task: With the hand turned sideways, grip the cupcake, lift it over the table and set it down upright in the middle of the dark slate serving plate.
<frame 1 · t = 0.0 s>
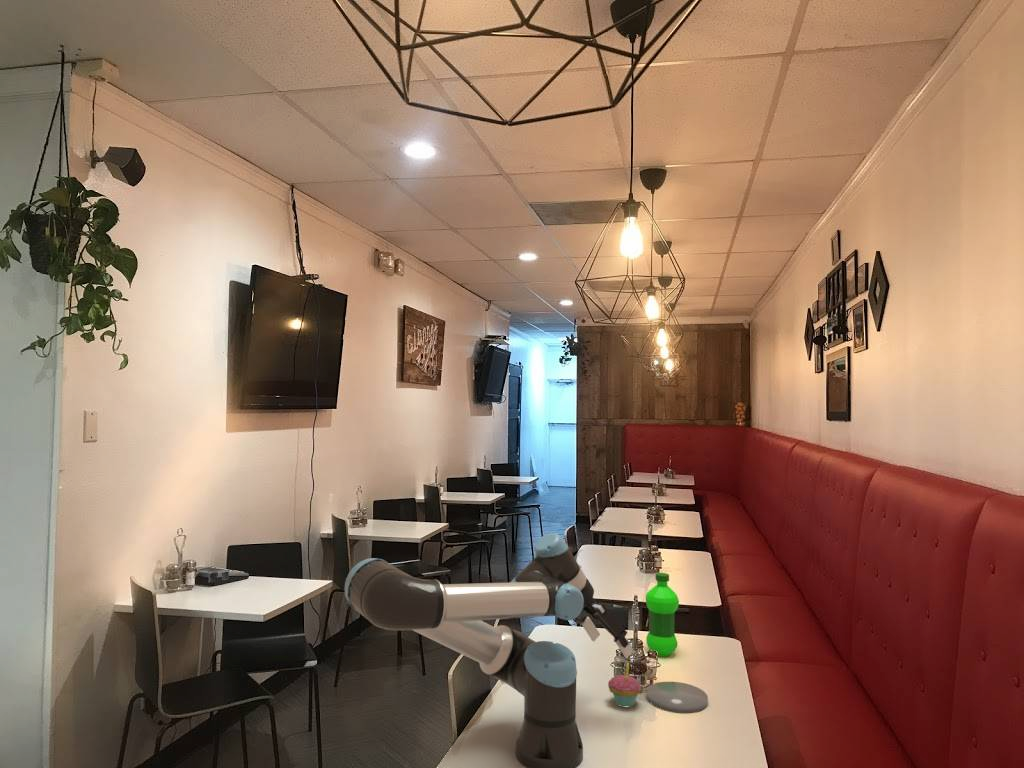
hand: (612, 645, 180), 15 cm above the table, tool tilted 35°, fingers open, 13 cm apart
plastic bottle: (661, 654, 217), on the table
cupcake: (624, 704, 180), on the table
slate plate: (676, 699, 183), on the table
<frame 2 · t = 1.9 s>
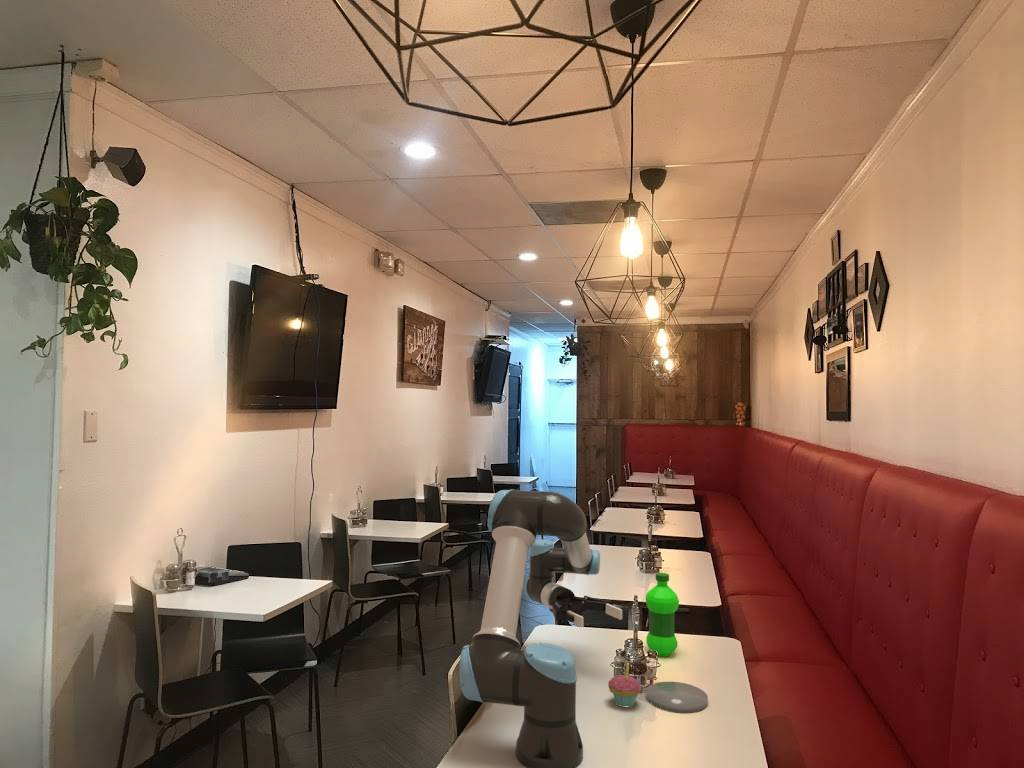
hand: (602, 618, 189), 20 cm above the table, tool horizontal, fingers open, 13 cm apart
nothing on the table moved.
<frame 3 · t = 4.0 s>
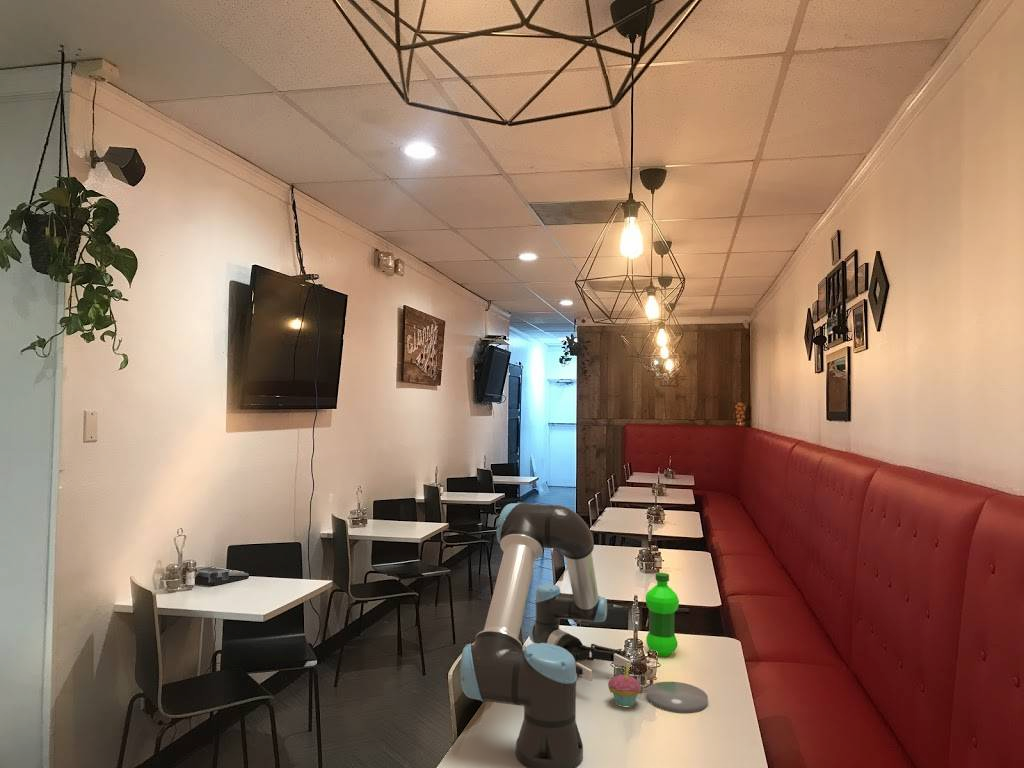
hand: (611, 670, 186), 6 cm above the table, tool horizontal, fingers open, 13 cm apart
nothing on the table moved.
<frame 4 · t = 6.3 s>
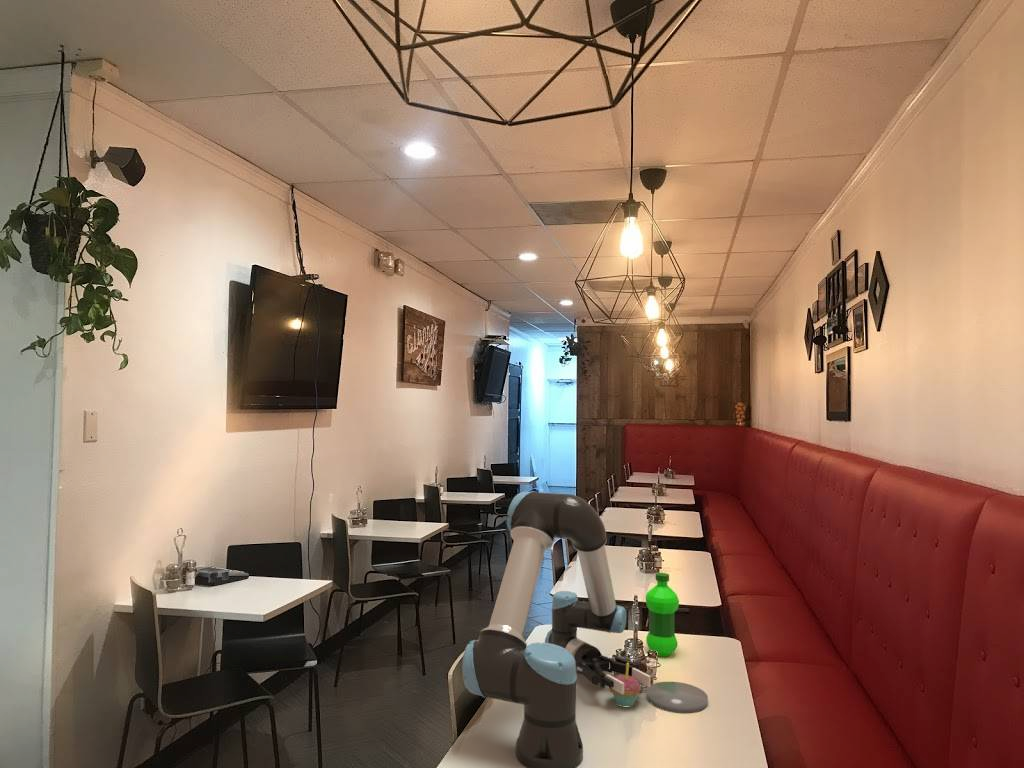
hand: (636, 685, 176), 6 cm above the table, tool horizontal, fingers closed on cupcake, 8 cm apart
cupcake: (624, 704, 180), on the table, touching gripper
everything else where it was.
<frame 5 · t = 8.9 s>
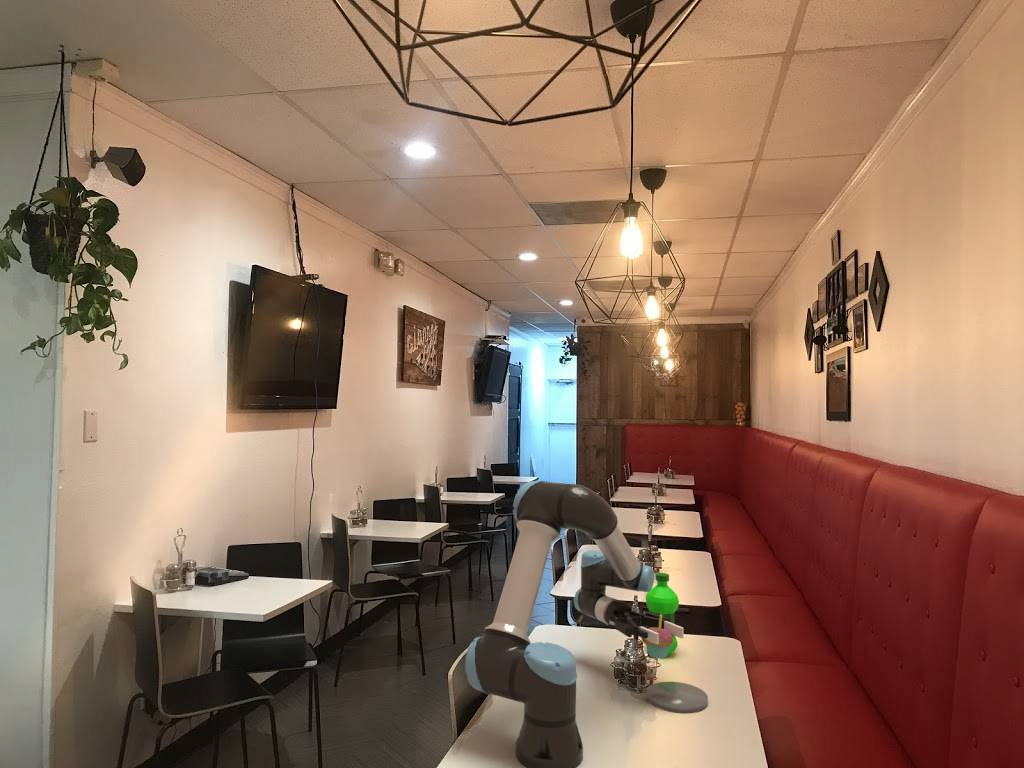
hand: (670, 636, 180), 18 cm above the table, tool horizontal, fingers closed on cupcake, 8 cm apart
cupcake: (657, 655, 183), point 12 cm above the table, touching gripper
everything else where it was.
when the fingers open (9 cm above the table, at t = 11.8 s): cupcake drops 1 cm, resting on slate plate.
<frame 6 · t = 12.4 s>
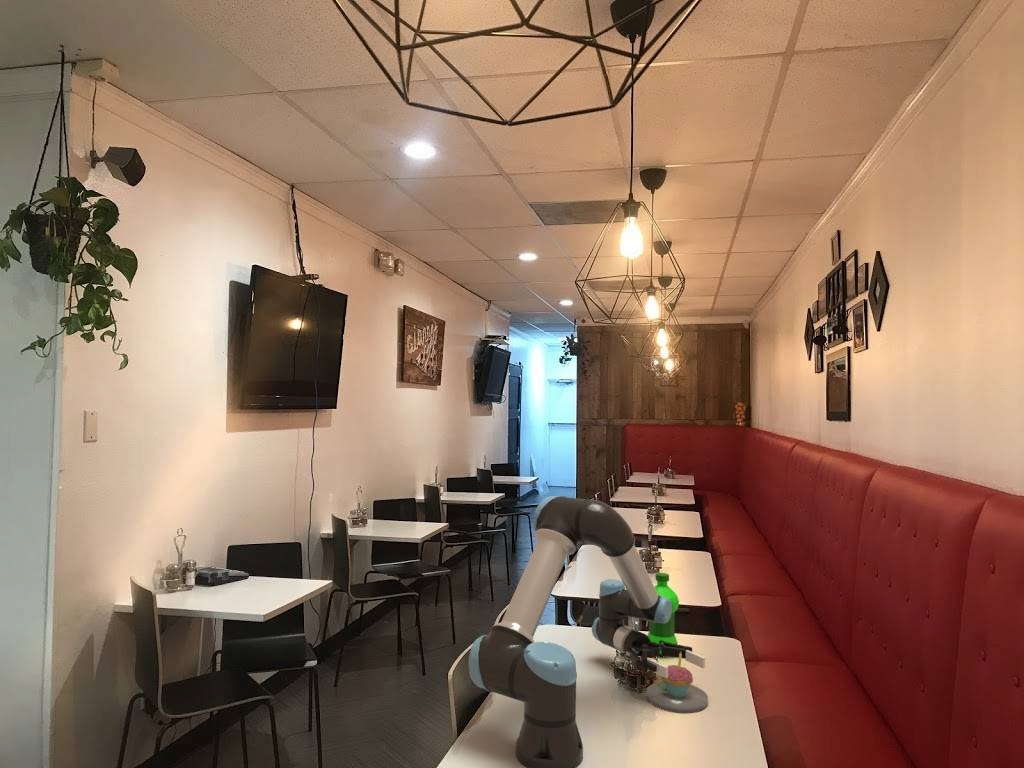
hand: (685, 667, 181), 10 cm above the table, tool horizontal, fingers open, 13 cm apart
cupcake: (676, 694, 183), point 1 cm above the table, touching slate plate
everything else where it was.
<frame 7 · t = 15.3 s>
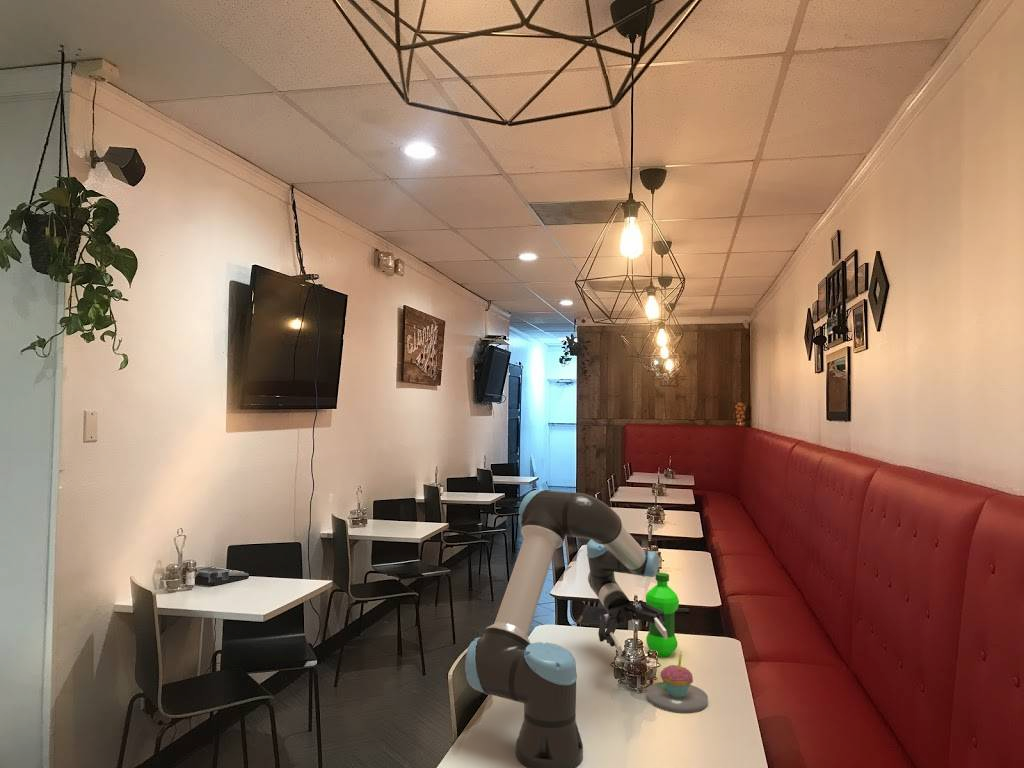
hand: (643, 642, 187), 14 cm above the table, tool horizontal, fingers open, 13 cm apart
nothing on the table moved.
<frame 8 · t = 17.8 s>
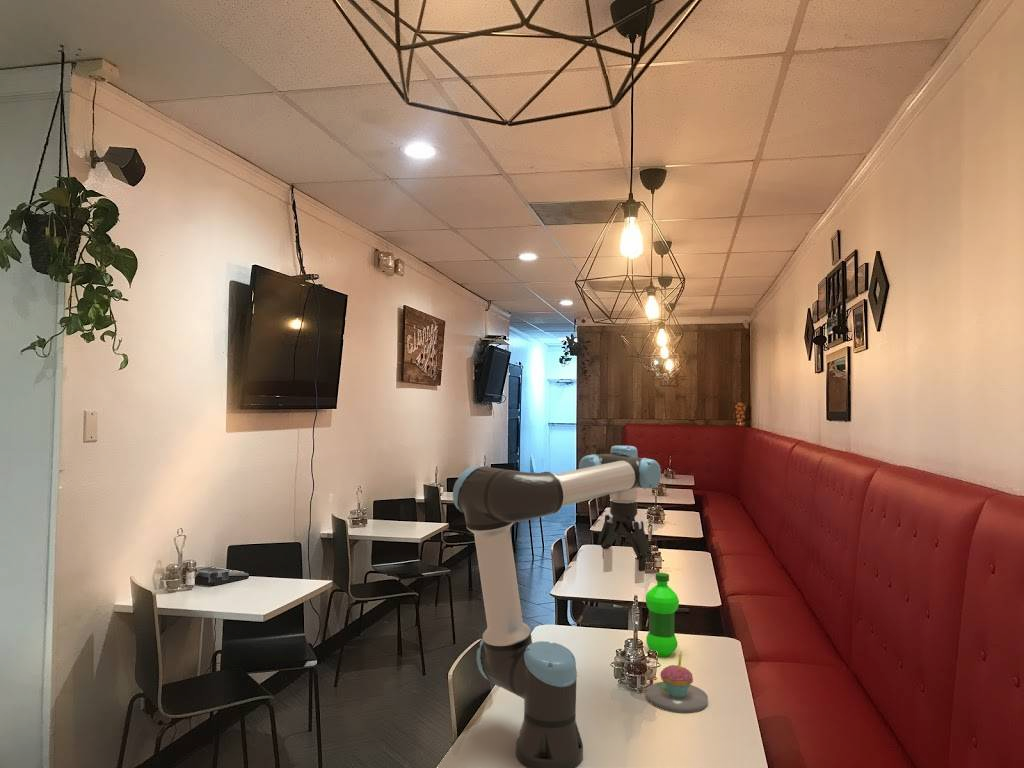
hand: (623, 577, 191), 31 cm above the table, tool pointing down, fingers open, 13 cm apart
nothing on the table moved.
at the end: cupcake inside the target area on the slate plate (0.1 cm from its centre), point 1.3 cm above the slate plate's base; cupcake tilted 0°; the gripper is holding nothing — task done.
